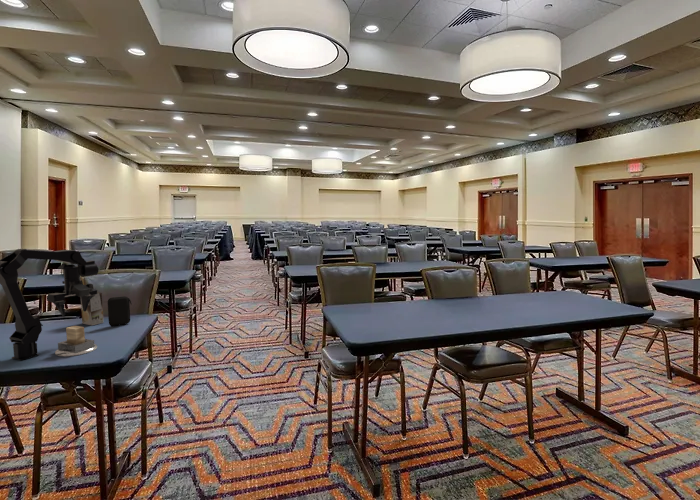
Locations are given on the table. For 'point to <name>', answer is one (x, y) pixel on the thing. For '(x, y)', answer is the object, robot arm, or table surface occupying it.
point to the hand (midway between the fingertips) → (74, 313)
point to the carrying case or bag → (119, 310)
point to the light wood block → (75, 335)
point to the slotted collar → (75, 348)
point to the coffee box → (93, 311)
